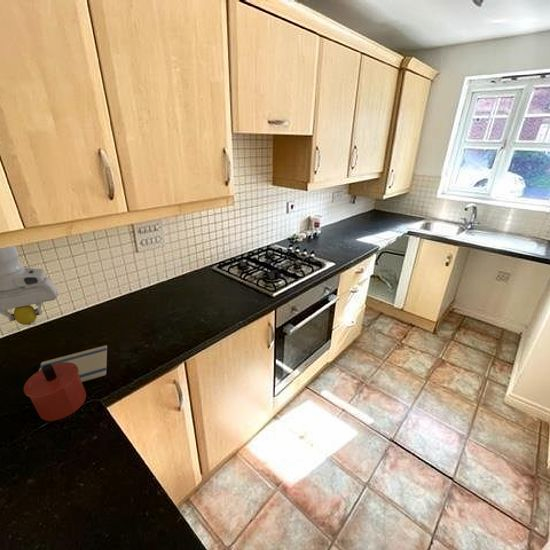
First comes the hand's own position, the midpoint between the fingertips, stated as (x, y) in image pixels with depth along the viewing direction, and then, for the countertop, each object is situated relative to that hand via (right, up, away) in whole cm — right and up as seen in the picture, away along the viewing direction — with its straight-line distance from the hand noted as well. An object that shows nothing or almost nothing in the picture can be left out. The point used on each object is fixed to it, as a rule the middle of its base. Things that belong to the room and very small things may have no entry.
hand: (26, 316), depth 98 cm
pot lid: (+19, -15, -14) cm, 28 cm away
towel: (+14, -18, +2) cm, 22 cm away
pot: (+19, -24, -10) cm, 32 cm away
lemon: (0, -3, +1) cm, 3 cm away
